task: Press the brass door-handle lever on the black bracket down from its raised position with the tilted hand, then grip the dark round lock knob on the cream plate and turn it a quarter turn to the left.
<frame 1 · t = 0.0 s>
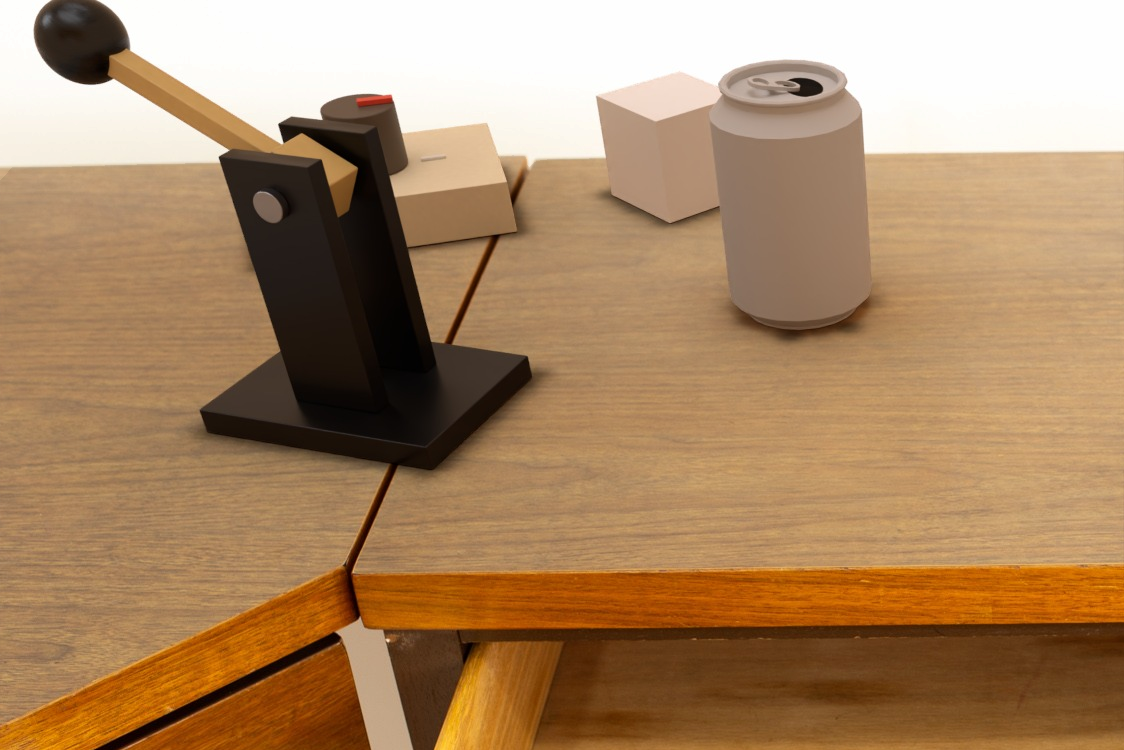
can: (802, 308, 84), on the table
lever: (193, 108, 68), point 14 cm above the table, hinge at 28.0°
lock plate: (385, 216, 93), on the table
lock knob: (364, 133, 90), point 5 cm above the table, hinge at 0.0°
pale pink cube: (681, 197, 96), on the table
bracket: (374, 404, 76), on the table
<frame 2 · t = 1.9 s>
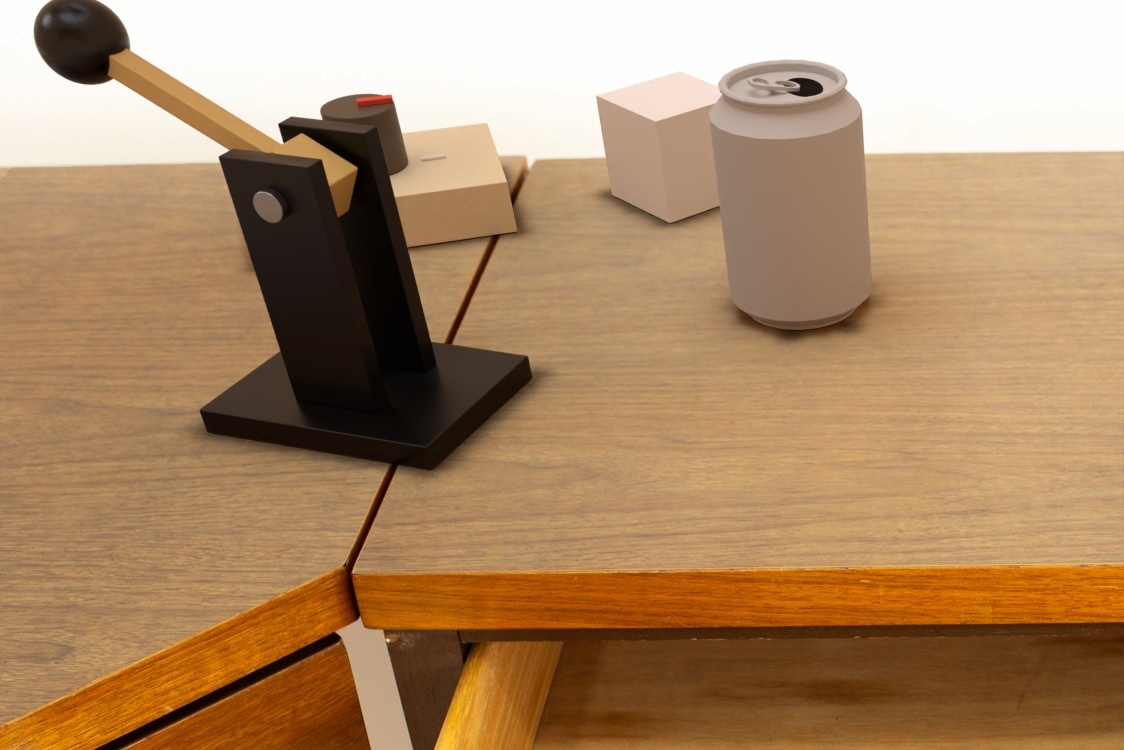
nothing on the table moved.
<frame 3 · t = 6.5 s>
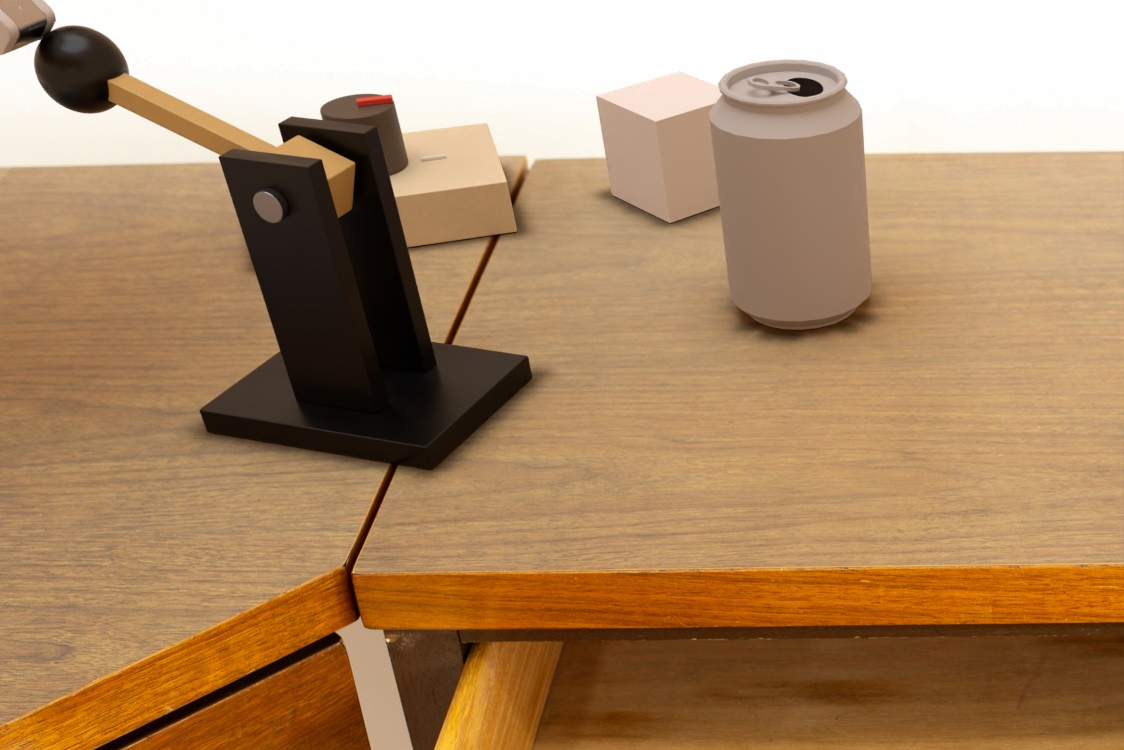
hand: (30, 37, 67), 17 cm above the table, tool tilted 45°, fingers closed
lever: (192, 123, 69), point 13 cm above the table, hinge at 20.5°, touching gripper
everything else where it was.
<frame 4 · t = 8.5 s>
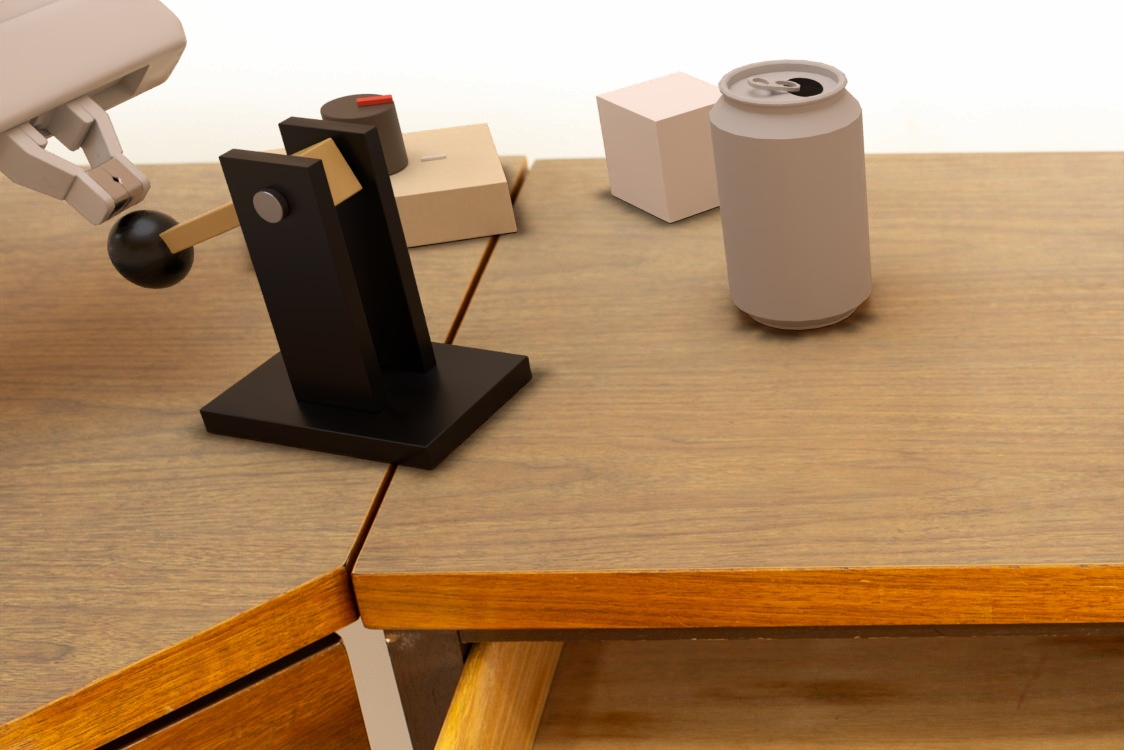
hand: (126, 206, 73), 9 cm above the table, tool tilted 45°, fingers closed, pressing on lever
lever: (225, 217, 71), point 9 cm above the table, hinge at -23.6°, touching gripper
everything else where it was.
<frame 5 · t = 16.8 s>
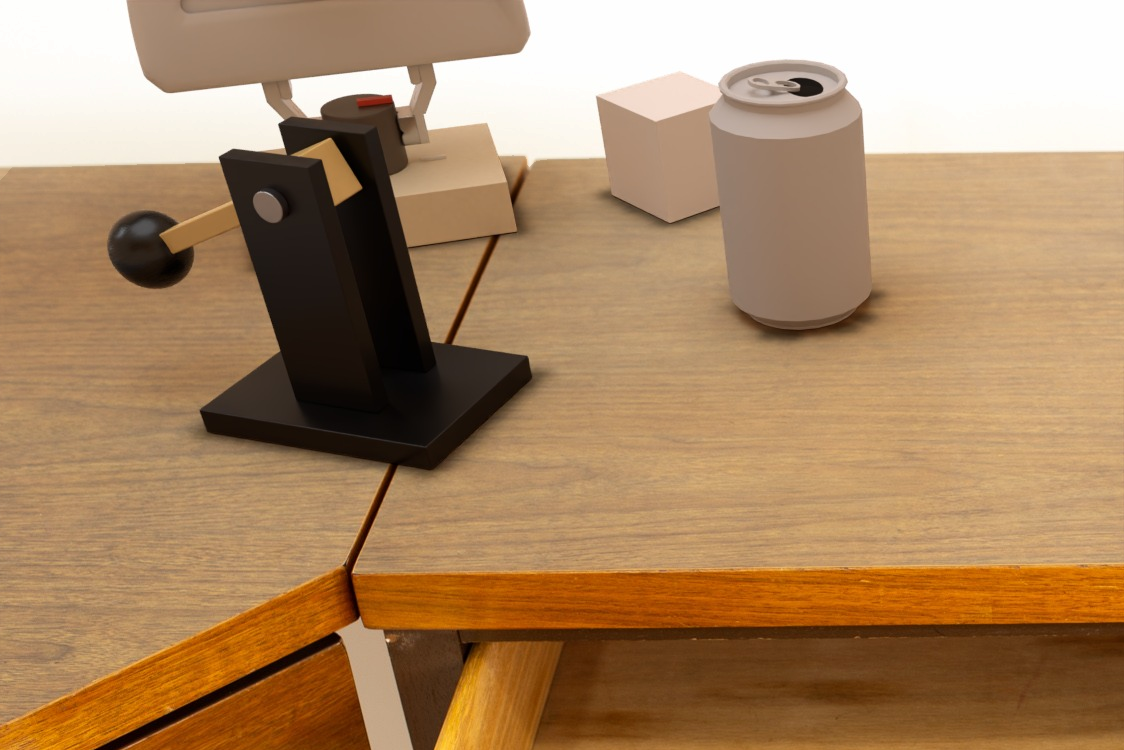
hand: (368, 147, 90), 4 cm above the table, tool pointing down, fingers closed on lock knob, 4 cm apart
lever: (225, 217, 71), point 9 cm above the table, hinge at -23.6°
lock knob: (364, 133, 90), point 5 cm above the table, hinge at 0.0°, touching gripper
everything else where it was.
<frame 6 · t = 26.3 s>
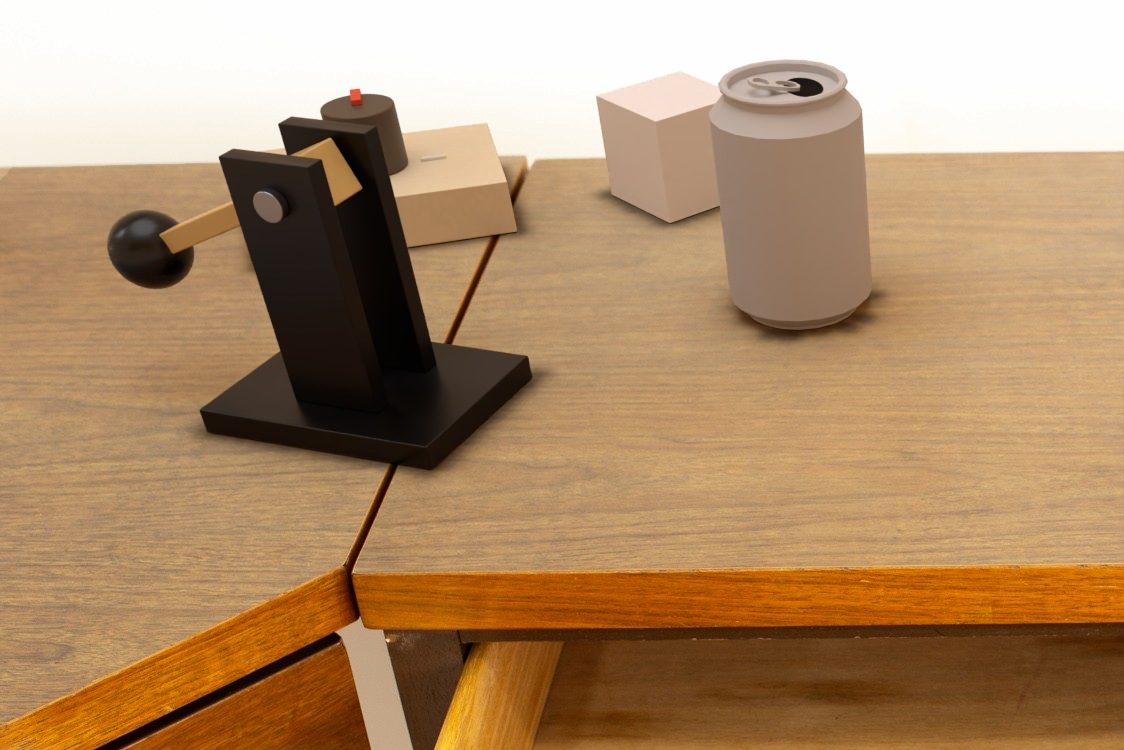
lock knob: (364, 133, 90), point 5 cm above the table, hinge at 88.7°
everything else where it was.
at the end: lever at -24° (first picture: +28°); lock knob at +89° (first picture: +0°) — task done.
